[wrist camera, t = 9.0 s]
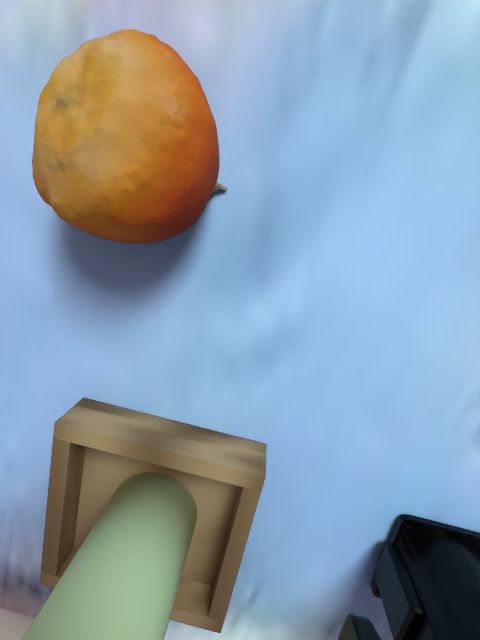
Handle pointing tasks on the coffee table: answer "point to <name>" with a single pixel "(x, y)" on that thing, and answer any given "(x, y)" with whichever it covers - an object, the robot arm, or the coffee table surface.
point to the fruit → (125, 140)
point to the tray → (166, 458)
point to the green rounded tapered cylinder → (124, 567)
